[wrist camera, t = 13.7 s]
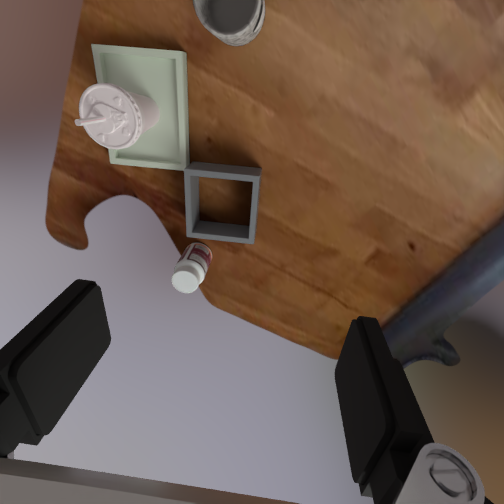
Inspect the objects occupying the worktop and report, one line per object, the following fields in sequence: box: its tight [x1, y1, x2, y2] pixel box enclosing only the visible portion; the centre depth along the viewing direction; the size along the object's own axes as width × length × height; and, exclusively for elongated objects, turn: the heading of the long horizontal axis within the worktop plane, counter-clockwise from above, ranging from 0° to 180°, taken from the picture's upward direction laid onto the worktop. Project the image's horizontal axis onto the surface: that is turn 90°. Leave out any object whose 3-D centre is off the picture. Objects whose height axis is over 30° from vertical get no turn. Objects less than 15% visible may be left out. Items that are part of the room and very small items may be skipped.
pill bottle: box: [172, 243, 212, 293], centre depth 46 cm, size 5×5×8 cm
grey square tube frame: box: [184, 161, 262, 244], centre depth 42 cm, size 10×10×4 cm
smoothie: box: [75, 83, 160, 149], centre depth 33 cm, size 6×6×14 cm
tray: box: [91, 44, 190, 171], centre depth 39 cm, size 14×11×2 cm
